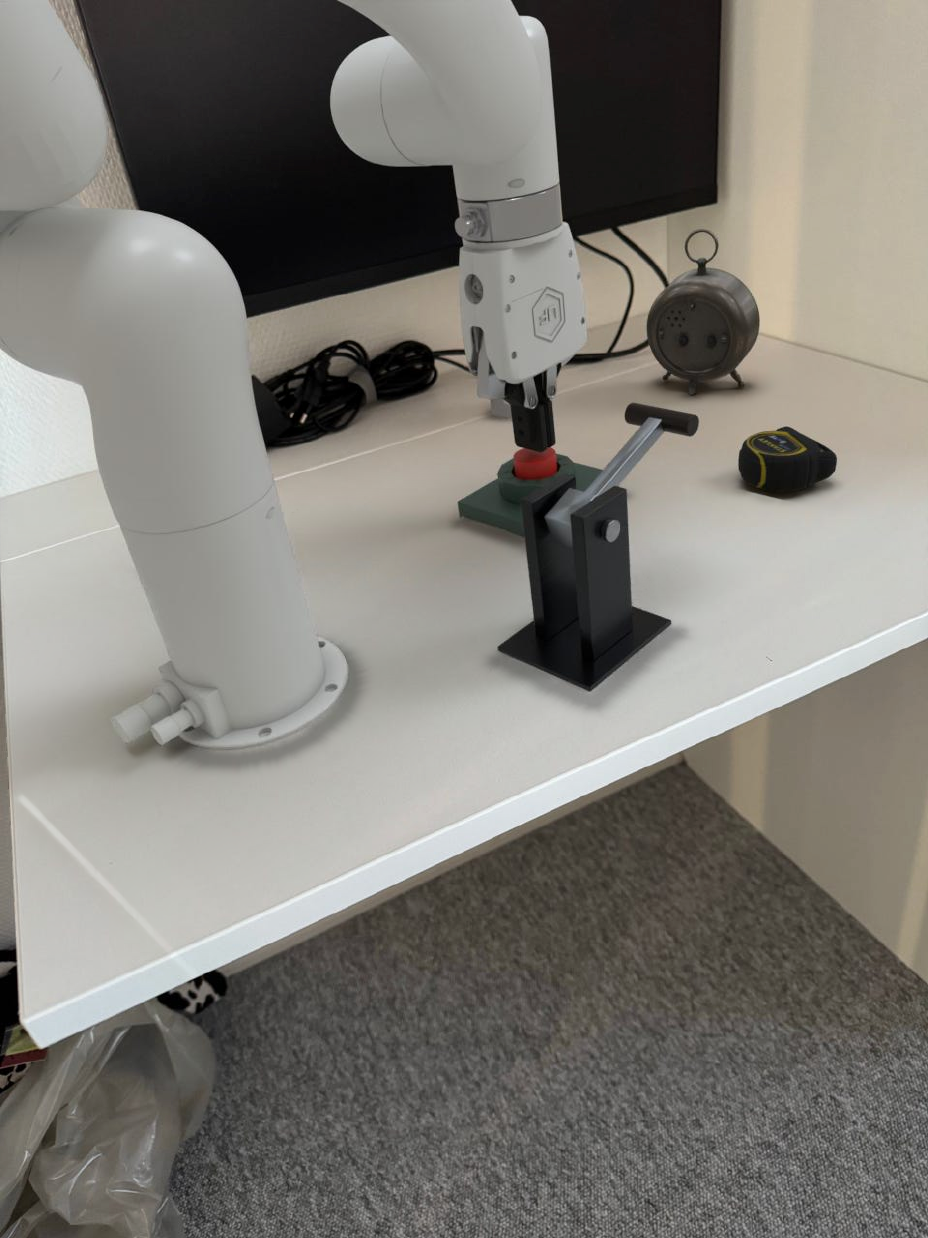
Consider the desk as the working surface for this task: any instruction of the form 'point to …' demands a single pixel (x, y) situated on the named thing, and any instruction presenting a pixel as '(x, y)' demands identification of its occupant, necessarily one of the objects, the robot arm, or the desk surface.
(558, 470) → the green switch base
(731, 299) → the alarm clock
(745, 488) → the desk surface
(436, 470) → the desk surface
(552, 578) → the bracket
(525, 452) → the button
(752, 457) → the tape measure
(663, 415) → the lever
